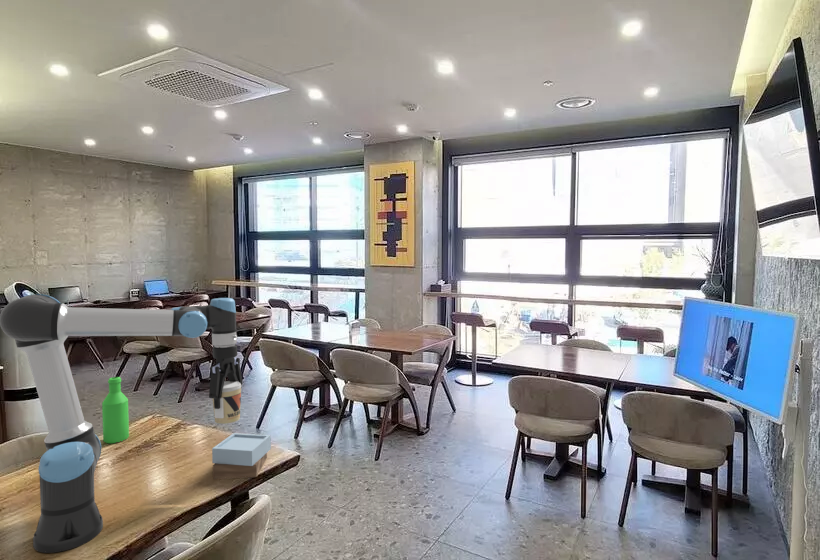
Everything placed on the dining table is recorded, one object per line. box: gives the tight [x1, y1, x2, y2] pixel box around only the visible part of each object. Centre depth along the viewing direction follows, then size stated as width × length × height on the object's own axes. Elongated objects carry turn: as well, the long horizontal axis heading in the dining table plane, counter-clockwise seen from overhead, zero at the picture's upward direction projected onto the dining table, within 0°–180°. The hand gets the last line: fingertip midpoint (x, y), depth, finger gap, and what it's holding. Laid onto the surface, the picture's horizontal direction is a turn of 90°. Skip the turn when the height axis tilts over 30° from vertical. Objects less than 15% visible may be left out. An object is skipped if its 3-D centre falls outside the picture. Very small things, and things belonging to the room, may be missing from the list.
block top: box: [211, 432, 272, 466], centre depth 163 cm, size 14×14×5 cm
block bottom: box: [212, 452, 268, 480], centre depth 163 cm, size 14×14×5 cm
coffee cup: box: [211, 380, 242, 425], centre depth 157 cm, size 9×9×12 cm
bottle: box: [101, 376, 130, 444], centre depth 188 cm, size 9×9×25 cm
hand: (227, 412), depth 157 cm, fingers closed on coffee cup, 9 cm apart
